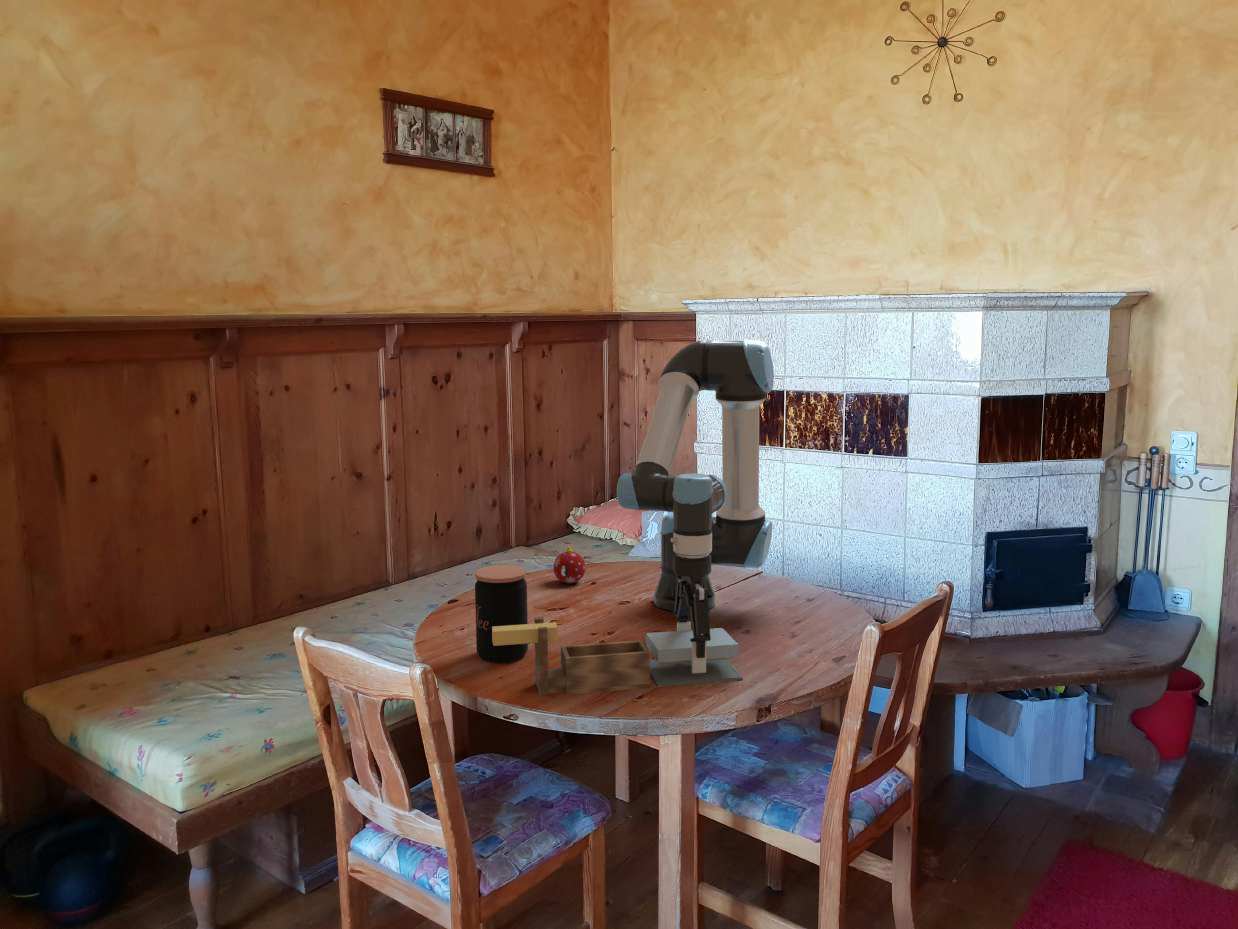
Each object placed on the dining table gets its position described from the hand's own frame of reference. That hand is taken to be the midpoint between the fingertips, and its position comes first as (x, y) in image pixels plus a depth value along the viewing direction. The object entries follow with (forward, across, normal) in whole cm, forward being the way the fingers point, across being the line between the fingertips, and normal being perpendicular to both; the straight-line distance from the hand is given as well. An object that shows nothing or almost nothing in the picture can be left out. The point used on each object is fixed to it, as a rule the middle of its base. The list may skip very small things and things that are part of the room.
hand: (691, 662), depth 185 cm
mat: (+2, 0, 0) cm, 2 cm away
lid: (-2, 0, 0) cm, 2 cm away
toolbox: (+2, +3, -20) cm, 21 cm away
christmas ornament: (+2, -68, -14) cm, 69 cm away
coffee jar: (+2, -17, -36) cm, 40 cm away
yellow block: (-8, +3, -33) cm, 34 cm away
